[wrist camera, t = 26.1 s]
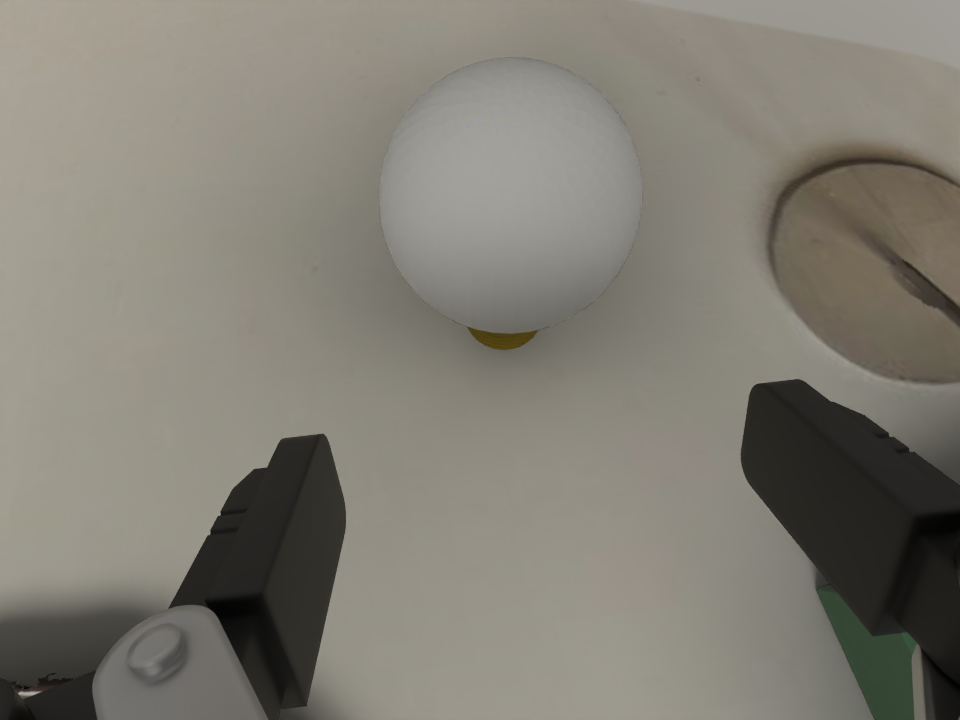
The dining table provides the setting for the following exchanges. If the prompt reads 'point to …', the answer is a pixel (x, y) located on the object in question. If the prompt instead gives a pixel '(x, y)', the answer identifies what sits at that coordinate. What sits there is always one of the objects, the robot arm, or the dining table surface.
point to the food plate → (43, 686)
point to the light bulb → (510, 197)
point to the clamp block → (874, 660)
